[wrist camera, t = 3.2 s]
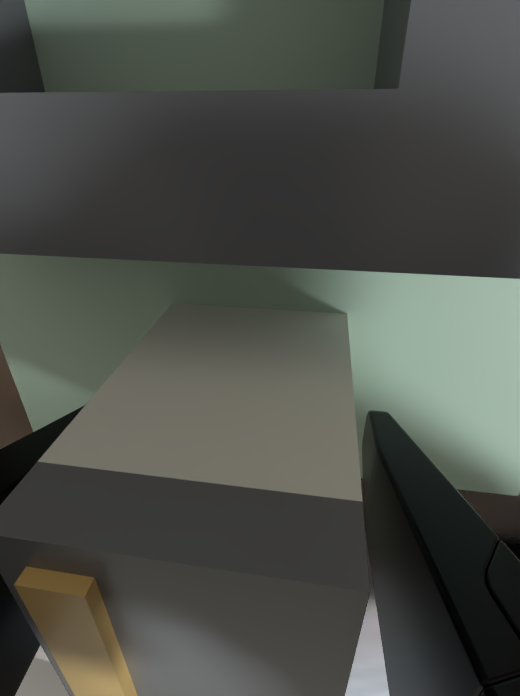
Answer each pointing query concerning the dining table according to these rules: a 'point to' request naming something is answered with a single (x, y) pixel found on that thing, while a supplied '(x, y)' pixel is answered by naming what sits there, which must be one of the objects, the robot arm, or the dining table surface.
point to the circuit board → (259, 281)
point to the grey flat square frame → (281, 159)
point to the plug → (201, 515)
